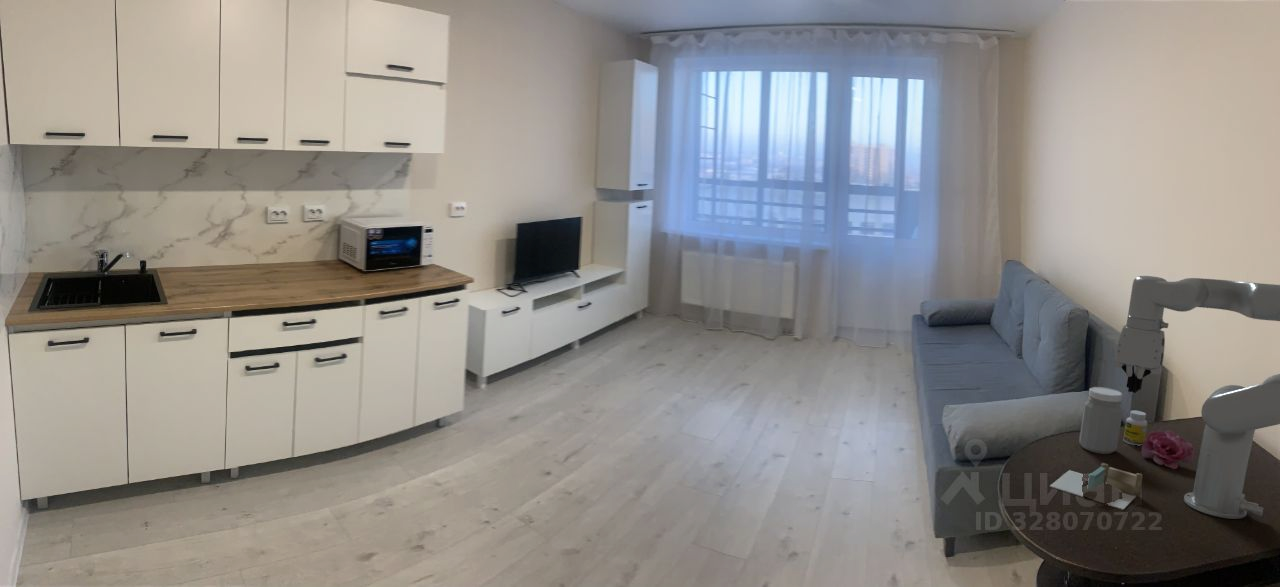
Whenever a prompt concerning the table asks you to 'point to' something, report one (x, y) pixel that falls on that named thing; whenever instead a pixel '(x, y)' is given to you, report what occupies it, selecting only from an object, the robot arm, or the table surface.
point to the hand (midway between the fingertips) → (1133, 391)
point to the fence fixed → (1123, 480)
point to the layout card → (1073, 485)
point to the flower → (1167, 448)
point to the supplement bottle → (1135, 428)
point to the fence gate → (1096, 478)
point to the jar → (1101, 420)
